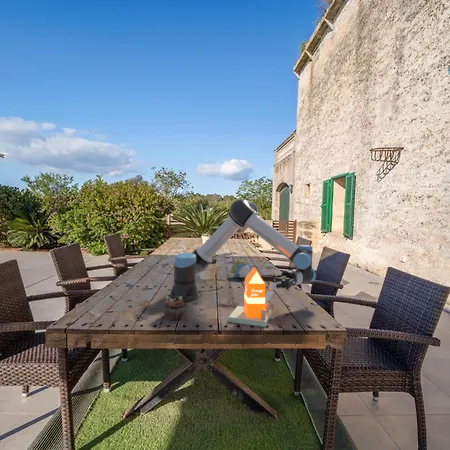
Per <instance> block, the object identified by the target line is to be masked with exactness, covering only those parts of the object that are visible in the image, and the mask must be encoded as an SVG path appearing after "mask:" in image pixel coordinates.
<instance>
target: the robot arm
mask: <svg viewBox="0 0 450 450" xmlns="http://www.w3.org/2000/svg"><path fill="white" fill-rule="evenodd" d="M227 216H228V217H227V218H226V220H224V222H223V223H221V225H220V226H219V227H217V229H216V230H215V231H214V232H213V233H212V235H210V237H208V239H207V240H206V241H204V243H203V244H202V245H201V246H196V248H195V249H193V251H192V252H183V253H177V254H176V255H175V256H174V258H173V259H174V260H173V285H172V287H171V290H170V294H169V295H173V296H174V294H177V296H181V297H182V300H183V301H184V302H193V301H195V300H198V299H199V290H198V287H197V283H196V280H197V279H196V276H197V275H199V273H202V272H205V271H206V269H208V268H209V265H210V264H211V263H212V261H213V256H214V255H216V254H217V252H219V250H221V248H222V247H223V246H224V245H225V244H226V243H227V242H228V241H229V240H230V239H231V237H233V236H234V235H235V234H236V232H237V231H238V230H239V229H244V228H246V229H247V228H248V229H250V230H251V231H252V232H253V233H255V234H256V235H257V236H258V237H260V238H261V239H262V240H263V241H265V242H266V243H267V244H269V245H270V246H271V247H272V248H273V249H275V250H277V251H278V252H279V253H281V254H282V255H283V256H284V257H285V258H286V259H288V260H289V261H291V263H293V265H294V267H296V269H290V270H285V271H283V272H281V274H275V273H271V274H267V273H266V274H259V275H260V277H261V278H262V280H263V281H264V282H271V283H269V291H273V290H280V289H287V290H289V289H290V288H291V287H292V286H293V287H296V286H297V285H302V284H309V283H313V282H314V281H315V280H316V278H317V273H316V270H315V269H314V268H313V253H314V252H313V251H314V250H313V246H312V245H309V244H299V245H297V244H296V243H294V242H293V241H292V240H290V239H289V238H288V237H286V236H285V235H283V233H281V232H280V231H278V230H277V229H276V228H274V226H272V225H271V224H269V223H268V222H267V221H265V220H264V219H263V218H262V217H260V216H259V215H258V206H257V205H256V203H254V202H253V201H252V200H250V199H243V198H238V199H236V200H234V201H232V203H231V204H230V208H229V212H228V213H227ZM173 296H172V297H173Z"/></svg>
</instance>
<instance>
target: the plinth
mask: <svg viewBox="0 0 450 450" xmlns="http://www.w3.org/2000/svg"><path fill="white" fill-rule="evenodd" d="M270 307H271V306H270V302H269V301H268V302H265V309H261V317H253V318H247V316H246V314H245V311H244V305H241V306H240V305H237V306H236V307H235V309H234V310H233V311H232V312H231V313H230V315H229V316H228V317H227V320H228V321H227V322H229V323H234V324H235V323H236V324H243V325H249V326H255V327H264V328H265V327H267V325H268V322H269V320H270V317H271V316H272V309H270Z"/></svg>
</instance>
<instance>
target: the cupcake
mask: <svg viewBox="0 0 450 450" xmlns="http://www.w3.org/2000/svg"><path fill="white" fill-rule="evenodd" d="M172 296H173V295H170V294H168V295H167V296H166V297H165V301H164V304H163V306H162V309H163V313H164V318H165V319H167V320H168V321H178V320H182V319H183V318H184V314H185V309H186V304H185V301H183V300H182V297H181V296H177V294H174V296H173V297H172Z"/></svg>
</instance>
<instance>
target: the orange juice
mask: <svg viewBox="0 0 450 450" xmlns="http://www.w3.org/2000/svg"><path fill="white" fill-rule="evenodd" d="M260 275H261V274H259V272H258V270H257V269H256V268H255V267H254V266H253V267H252V268H251V269H250V273H249V274H248V276H247V277H246V278H244V295H243V296H244V298H243V299H244V303H243V307H244V311H245V314H246V316H247V318H253V317H261V309H265V295H266V283H265V281H263V280H262V278H261V277H260Z"/></svg>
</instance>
